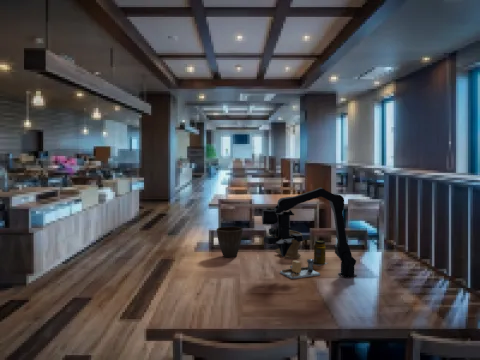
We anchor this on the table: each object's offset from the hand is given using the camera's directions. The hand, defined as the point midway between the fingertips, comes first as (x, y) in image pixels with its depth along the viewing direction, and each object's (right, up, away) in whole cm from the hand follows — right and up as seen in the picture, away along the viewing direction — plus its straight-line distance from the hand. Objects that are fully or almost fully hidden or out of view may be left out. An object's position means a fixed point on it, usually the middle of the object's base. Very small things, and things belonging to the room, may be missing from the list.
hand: (283, 256), depth 206 cm
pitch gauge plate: (+9, -9, +4) cm, 13 cm away
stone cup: (+8, -7, +41) cm, 42 cm away
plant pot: (-27, -7, +40) cm, 49 cm away
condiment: (+21, -8, +25) cm, 34 cm away
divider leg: (+6, -8, +4) cm, 11 cm away
